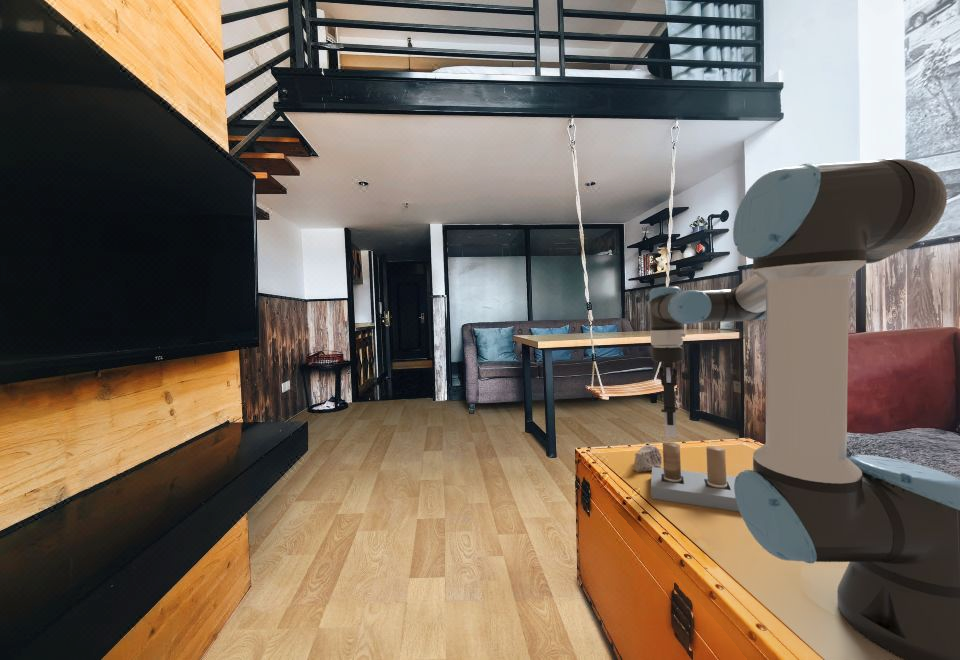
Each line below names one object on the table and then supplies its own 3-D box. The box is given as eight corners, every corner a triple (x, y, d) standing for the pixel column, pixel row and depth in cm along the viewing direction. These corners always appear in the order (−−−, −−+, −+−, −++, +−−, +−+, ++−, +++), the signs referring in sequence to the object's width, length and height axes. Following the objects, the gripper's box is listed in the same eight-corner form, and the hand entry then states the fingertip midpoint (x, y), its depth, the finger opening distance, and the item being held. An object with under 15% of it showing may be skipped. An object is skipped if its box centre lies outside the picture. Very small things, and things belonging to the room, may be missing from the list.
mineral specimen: (658, 477, 107) (657, 456, 107) (632, 473, 111) (631, 452, 111) (664, 463, 117) (663, 443, 117) (640, 459, 121) (639, 440, 121)
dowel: (682, 494, 95) (680, 448, 95) (664, 492, 97) (662, 446, 97) (681, 488, 99) (679, 443, 99) (664, 486, 101) (662, 441, 101)
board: (747, 512, 85) (745, 460, 85) (651, 498, 94) (649, 451, 94) (736, 487, 98) (734, 442, 98) (652, 477, 107) (650, 435, 107)
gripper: (684, 347, 90) (688, 445, 90) (681, 344, 103) (685, 429, 103) (650, 348, 93) (654, 442, 93) (652, 344, 106) (655, 427, 106)
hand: (670, 435), depth 98 cm, fingers closed
